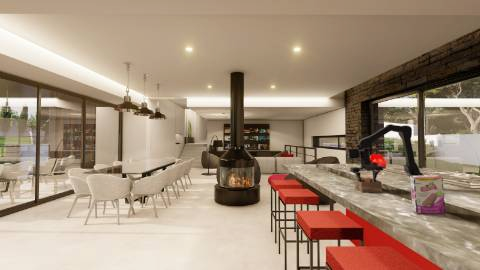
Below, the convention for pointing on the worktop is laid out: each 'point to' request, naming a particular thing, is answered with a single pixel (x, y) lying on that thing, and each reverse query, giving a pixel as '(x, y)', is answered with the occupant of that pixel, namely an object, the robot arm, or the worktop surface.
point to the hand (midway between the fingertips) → (367, 182)
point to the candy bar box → (427, 194)
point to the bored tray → (368, 185)
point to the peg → (367, 179)
